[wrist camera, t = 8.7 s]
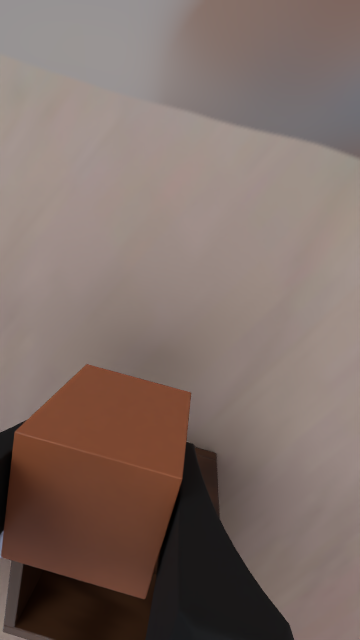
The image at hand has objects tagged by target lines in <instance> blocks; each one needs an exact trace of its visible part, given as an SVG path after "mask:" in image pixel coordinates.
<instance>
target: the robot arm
mask: <svg viewBox="0 0 360 640" xmlns="http://www.w3.org/2000/svg"><path fill="white" fill-rule="evenodd" d="M26 421H27V420H26ZM26 421H24V422H22V423H20V424H18V425H16V426H14V427H12V428H9V429H7V430H5V431H3V432H0V558H2V557H1V551H2V542H3V533H4V524H5V515H6V506H7V497H8V487H9V478H10V469H11V460H12V451H13V442H14V433H15V431H16V430H17V429H18V428H19V427H20V426H21V425H22V424H24V423H25V422H26ZM145 640H294V637H293V634H292V631H291V628H290V625H289V623H288V622H287V621H286V619H285V618H284V617H283V616H282V614H281V613H280V612H279V611H278V609H277V608H276V607H275V605H274V604H273V603H272V602H271V600H270V599H269V598H268V596H267V595H266V594H265V593H264V591H263V590H262V589H261V587H260V586H259V584H258V583H257V581H256V580H255V578H254V577H253V576H252V574H251V573H250V571H249V570H248V568H247V566H246V565H245V563H244V562H243V560H242V558H241V557H240V555H239V554H238V552H237V550H236V549H235V547H234V545H233V544H232V542H231V540H230V538H229V536H228V534H227V533H226V531H225V529H224V527H223V525H222V523H221V521H220V519H219V516H218V514H217V512H216V510H215V508H214V505H213V503H212V500H211V498H210V496H209V493H208V490H207V488H206V485H205V482H204V479H203V476H202V473H201V470H200V467H199V463H198V460H197V456H196V451H195V447H194V445H193V444H191V443H188V442H186V449H185V459H184V469H183V479H182V482H181V485H180V489H179V492H178V495H177V498H176V502H175V505H174V508H173V511H172V515H171V518H170V521H169V524H168V528H167V531H166V534H165V537H164V541H163V544H162V547H161V550H160V554H159V557H158V566H157V574H156V581H155V587H154V593H153V598H152V604H151V610H150V616H149V622H148V627H147V633H146V639H145Z"/></svg>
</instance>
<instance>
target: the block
mask: <svg viewBox="0 0 360 640" xmlns="http://www.w3.org/2000/svg"><path fill="white" fill-rule="evenodd" d="M190 400H191V393H190V392H187V391H183V390H180V389H176V388H172V387H169V386H165V385H161V384H158V383H154V382H150V381H147V380H143V379H139V378H136V377H132V376H128V375H125V374H121V373H117V372H114V371H110V370H106V369H103V368H99V367H95V366H92V365H88V364H86V365H85V366H84V367H83V368H82V369H81V370H80V371H79V372H78V373H77V374H76V375H75V376H74V377H73V378H71V379H70V380H69V381H68V382H67V383H66V384H65V385H64V386H63V387H62V388H61V389H60V390H59V391H58V392H57V393H55V394H54V395H53V396H52V397H51V398H50V399H49V400H48V401H47V402H46V403H45V404H44V405H43V406H42V407H41V408H39V409H38V410H37V411H36V412H35V413H34V414H33V415H32V416H31V417H30V418H29V419H28V420H27V421H26V422H25V423H24V424H22V425H21V426H20V427H19V428H18V429H17V430H16V431H15V433H14V442H13V451H12V460H11V469H10V478H9V487H8V497H7V506H6V515H5V524H4V533H3V542H2V551H1V557H2V558H6V559H9V560H13V561H16V562H19V563H23V564H26V565H30V566H33V567H36V568H40V569H43V570H47V571H50V572H53V573H57V574H60V575H64V576H67V577H70V578H74V579H77V580H80V581H84V582H87V583H91V584H94V585H97V586H101V587H104V588H108V589H111V590H114V591H118V592H121V593H125V594H128V595H131V596H135V597H138V598H142V599H145V598H146V596H147V593H148V589H149V586H150V583H151V580H152V576H153V573H154V570H155V567H156V563H157V560H158V557H159V554H160V550H161V547H162V544H163V541H164V537H165V534H166V531H167V528H168V524H169V521H170V518H171V515H172V511H173V508H174V505H175V502H176V498H177V495H178V492H179V489H180V485H181V482H182V479H183V469H184V459H185V449H186V439H187V430H188V420H189V410H190Z"/></svg>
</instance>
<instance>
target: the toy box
mask: <svg viewBox="0 0 360 640" xmlns="http://www.w3.org/2000/svg"><path fill="white" fill-rule="evenodd" d="M195 451H196V456H197V460H198V463H199V467H200V470H201V473H202V476H203V479H204V482H205V485H206V488H207V490H208V493H209V496H210V498H211V500H212V503H213V505H214V508H215V510H216V512H217V514H218V516H219V496H218V476H217V456H216V453H213V452H210V451H206V450H203V449H199V448H196V447H195ZM219 519H220V517H219ZM157 566H158V560H157V563H156V567H155V570H154V573H153V576H152V580H151V583H150V586H149V589H148V593H147V596H146V598H145V599H142V598H138V597H135V596H131V595H128V594H125V593H121V592H118V591H114V590H111V589H108V588H104V587H101V586H97V585H94V584H91V583H87V582H84V581H80V580H77V579H74V578H70V577H67V576H64V575H60V574H57V573H53V572H50V571H47V570H43V569H40V568H36V567H33V566H30V565H26V564H23V563H19V562H16V561H13V560H12V562H11V570H10V578H9V586H8V594H7V602H6V610H5V617H4V626H3V632H5V633H8V634H11V635H15V636H18V637H21V638H24V639H28V640H145V639H146V633H147V627H148V622H149V616H150V610H151V604H152V598H153V593H154V587H155V581H156V574H157Z"/></svg>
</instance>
